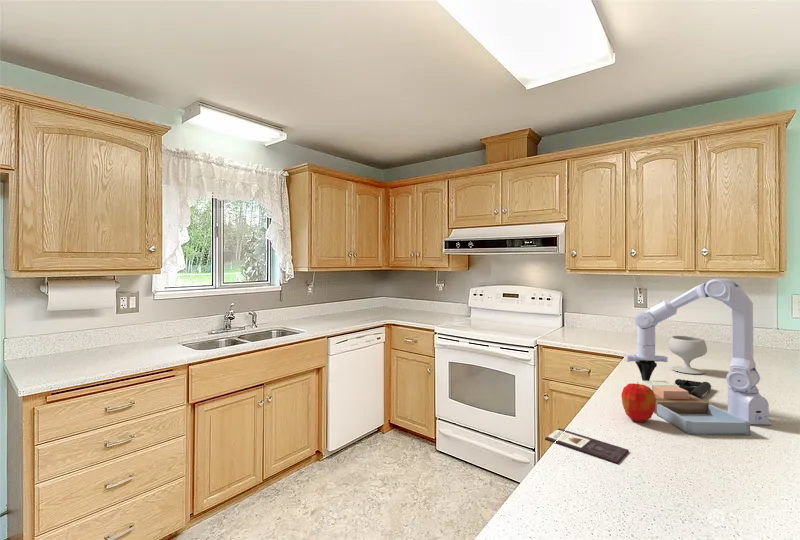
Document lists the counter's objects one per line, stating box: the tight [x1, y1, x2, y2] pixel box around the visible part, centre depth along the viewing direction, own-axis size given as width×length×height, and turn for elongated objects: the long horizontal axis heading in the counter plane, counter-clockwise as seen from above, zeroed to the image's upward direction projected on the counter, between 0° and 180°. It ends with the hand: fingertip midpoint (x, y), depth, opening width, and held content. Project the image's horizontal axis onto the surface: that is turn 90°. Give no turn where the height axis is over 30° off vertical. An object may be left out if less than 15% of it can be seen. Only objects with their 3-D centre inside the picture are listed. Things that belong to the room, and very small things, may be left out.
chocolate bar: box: [544, 427, 630, 465], centre depth 102 cm, size 9×1×18 cm
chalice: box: [668, 335, 708, 375], centre depth 174 cm, size 14×14×15 cm
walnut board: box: [653, 393, 710, 415], centre depth 131 cm, size 17×16×4 cm
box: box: [656, 404, 751, 436], centre depth 115 cm, size 14×17×4 cm
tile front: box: [653, 385, 688, 399], centre depth 129 cm, size 6×8×2 cm
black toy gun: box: [674, 378, 712, 399], centre depth 147 cm, size 3×20×16 cm
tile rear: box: [642, 380, 677, 391], centre depth 135 cm, size 6×8×2 cm
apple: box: [621, 381, 656, 423], centre depth 118 cm, size 9×9×12 cm
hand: (645, 380), depth 142 cm, fingers closed
